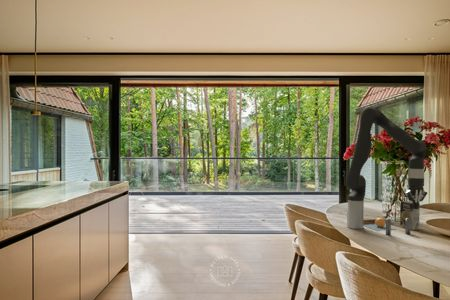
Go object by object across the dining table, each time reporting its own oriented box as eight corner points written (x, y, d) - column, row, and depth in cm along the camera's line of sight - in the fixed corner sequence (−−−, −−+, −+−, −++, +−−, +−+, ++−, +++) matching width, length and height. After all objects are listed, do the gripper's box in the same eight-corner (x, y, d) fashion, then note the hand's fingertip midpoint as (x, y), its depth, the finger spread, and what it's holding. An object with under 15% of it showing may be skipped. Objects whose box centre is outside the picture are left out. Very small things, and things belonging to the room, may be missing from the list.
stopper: (354, 223, 216) (354, 219, 216) (378, 222, 219) (378, 218, 219) (356, 224, 214) (356, 220, 214) (380, 223, 217) (380, 219, 217)
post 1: (384, 234, 189) (384, 218, 189) (388, 234, 189) (388, 218, 189) (387, 235, 186) (387, 219, 186) (391, 235, 187) (391, 219, 187)
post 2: (404, 233, 191) (404, 218, 191) (408, 233, 192) (408, 217, 192) (407, 234, 189) (407, 219, 189) (411, 234, 189) (411, 218, 189)
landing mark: (362, 225, 211) (362, 224, 211) (381, 224, 214) (381, 224, 214) (376, 230, 197) (376, 230, 197) (396, 229, 200) (396, 229, 200)
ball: (373, 216, 208) (379, 220, 202) (382, 215, 209) (388, 219, 203) (372, 225, 209) (378, 229, 203) (381, 224, 210) (387, 228, 204)
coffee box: (399, 226, 208) (399, 201, 208) (406, 225, 211) (406, 200, 211) (412, 229, 200) (413, 203, 200) (419, 229, 203) (420, 203, 203)
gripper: (421, 176, 181) (420, 207, 181) (400, 176, 179) (400, 208, 179) (432, 177, 174) (431, 210, 174) (410, 177, 171) (410, 210, 171)
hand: (415, 209), depth 176 cm, fingers closed
